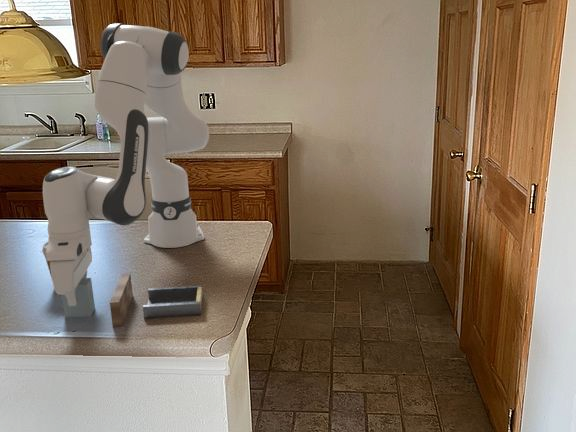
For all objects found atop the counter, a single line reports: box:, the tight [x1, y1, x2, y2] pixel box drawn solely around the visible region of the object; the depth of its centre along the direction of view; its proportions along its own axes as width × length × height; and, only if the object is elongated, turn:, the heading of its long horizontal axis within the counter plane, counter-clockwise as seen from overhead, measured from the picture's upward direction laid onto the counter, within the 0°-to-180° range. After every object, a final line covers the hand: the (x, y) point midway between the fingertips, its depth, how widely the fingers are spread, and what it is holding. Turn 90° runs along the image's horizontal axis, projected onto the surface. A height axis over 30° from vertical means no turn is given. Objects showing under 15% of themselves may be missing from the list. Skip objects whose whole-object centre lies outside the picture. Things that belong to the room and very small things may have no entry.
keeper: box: [142, 285, 204, 320], centre depth 137 cm, size 10×13×3 cm
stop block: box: [60, 277, 96, 319], centre depth 134 cm, size 4×6×8 cm, turn 96°
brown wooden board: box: [109, 273, 134, 328], centre depth 136 cm, size 16×2×6 cm, turn 6°
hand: (78, 295), depth 134 cm, fingers open, 8 cm apart
